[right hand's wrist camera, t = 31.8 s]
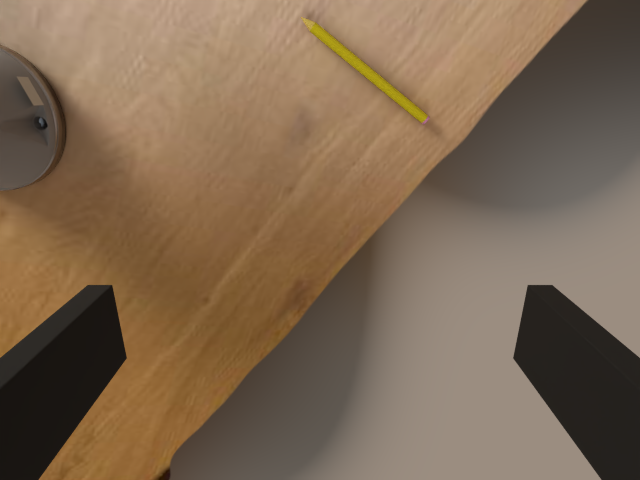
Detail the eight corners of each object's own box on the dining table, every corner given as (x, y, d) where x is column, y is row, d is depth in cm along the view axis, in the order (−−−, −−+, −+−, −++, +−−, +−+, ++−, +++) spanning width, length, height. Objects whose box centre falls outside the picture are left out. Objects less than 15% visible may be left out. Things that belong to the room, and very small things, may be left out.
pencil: (428, 116, 43) (430, 117, 42) (422, 124, 44) (424, 124, 43) (303, 13, 40) (303, 11, 39) (298, 22, 40) (297, 20, 39)
